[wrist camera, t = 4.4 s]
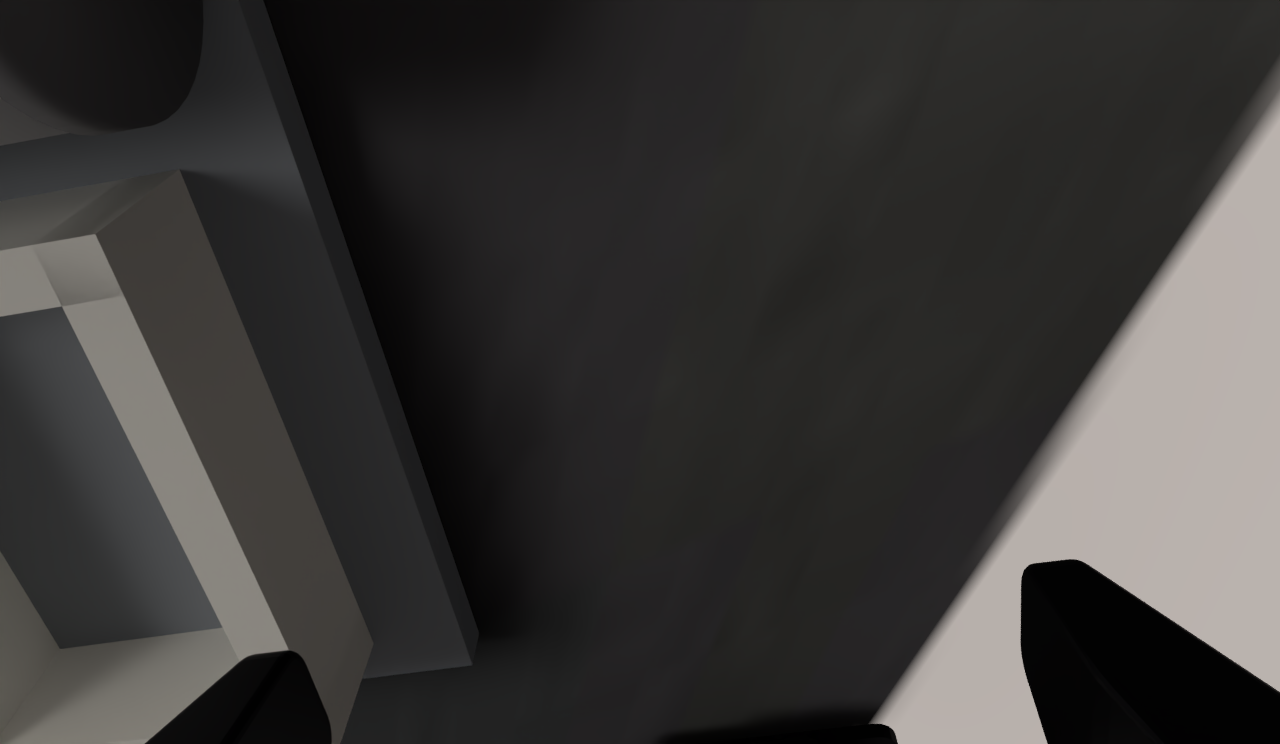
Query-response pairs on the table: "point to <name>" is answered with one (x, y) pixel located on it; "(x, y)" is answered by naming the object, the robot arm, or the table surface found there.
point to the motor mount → (189, 387)
